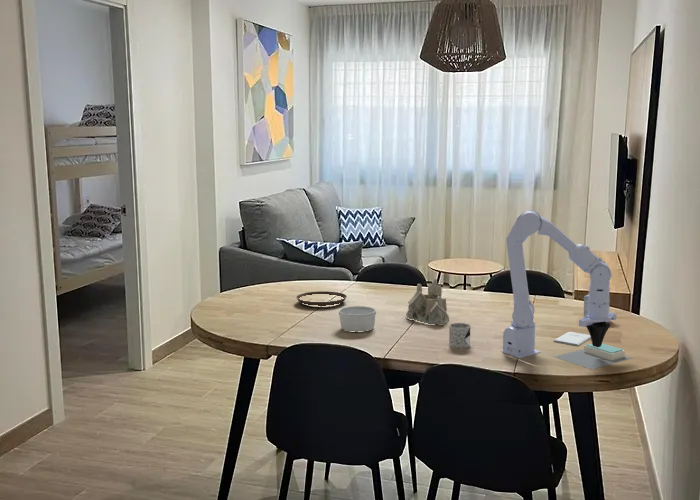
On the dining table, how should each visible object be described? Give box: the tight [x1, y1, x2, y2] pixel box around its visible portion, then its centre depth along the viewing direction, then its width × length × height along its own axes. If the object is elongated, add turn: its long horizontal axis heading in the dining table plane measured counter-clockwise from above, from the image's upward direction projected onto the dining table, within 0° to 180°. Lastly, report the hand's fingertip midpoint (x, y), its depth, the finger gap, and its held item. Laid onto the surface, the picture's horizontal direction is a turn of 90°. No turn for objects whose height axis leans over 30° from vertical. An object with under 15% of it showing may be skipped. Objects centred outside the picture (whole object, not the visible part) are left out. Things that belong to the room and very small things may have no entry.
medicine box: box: [583, 293, 611, 318], centre depth 248 cm, size 8×4×9 cm, turn 47°
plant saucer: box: [296, 290, 347, 306], centre depth 280 cm, size 21×21×3 cm
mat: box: [553, 348, 633, 371], centre depth 205 cm, size 18×14×1 cm
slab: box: [583, 342, 626, 360], centre depth 208 cm, size 2×10×6 cm
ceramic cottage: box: [405, 278, 450, 325], centre depth 251 cm, size 16×16×15 cm
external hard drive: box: [553, 331, 591, 347], centre depth 224 cm, size 2×8×12 cm
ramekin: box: [338, 305, 377, 332], centre depth 241 cm, size 13×13×7 cm
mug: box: [448, 322, 471, 349], centre depth 222 cm, size 10×7×7 cm
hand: (596, 346), depth 205 cm, fingers closed
